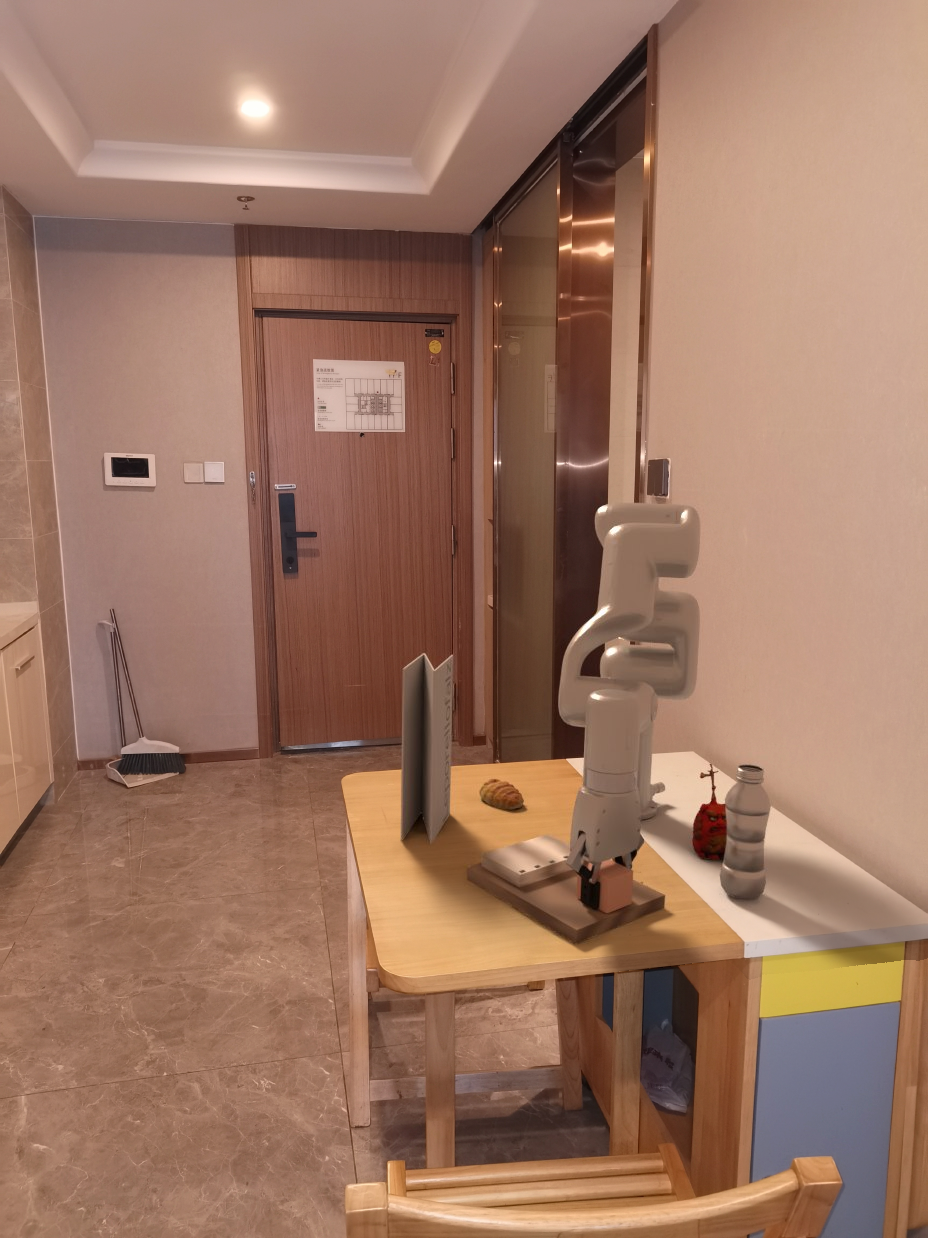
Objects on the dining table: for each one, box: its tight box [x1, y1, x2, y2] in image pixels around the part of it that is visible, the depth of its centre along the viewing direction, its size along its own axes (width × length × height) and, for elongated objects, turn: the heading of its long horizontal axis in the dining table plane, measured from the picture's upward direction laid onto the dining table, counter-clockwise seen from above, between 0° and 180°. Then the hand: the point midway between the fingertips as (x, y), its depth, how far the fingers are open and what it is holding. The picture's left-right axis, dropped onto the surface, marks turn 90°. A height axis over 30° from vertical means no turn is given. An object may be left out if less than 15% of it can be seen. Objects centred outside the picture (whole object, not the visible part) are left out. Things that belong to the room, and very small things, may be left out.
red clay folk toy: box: [691, 763, 727, 861], centre depth 150 cm, size 8×7×15 cm
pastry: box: [479, 778, 525, 811], centre depth 173 cm, size 9×7×4 cm
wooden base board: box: [466, 833, 666, 945], centre depth 135 cm, size 18×24×4 cm
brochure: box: [400, 652, 454, 844], centre depth 158 cm, size 14×6×30 cm, turn 168°
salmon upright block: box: [577, 859, 634, 913], centre depth 128 cm, size 5×6×5 cm
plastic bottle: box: [719, 763, 772, 900], centre depth 135 cm, size 6×7×20 cm
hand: (603, 899), depth 129 cm, fingers closed on salmon upright block, 5 cm apart
